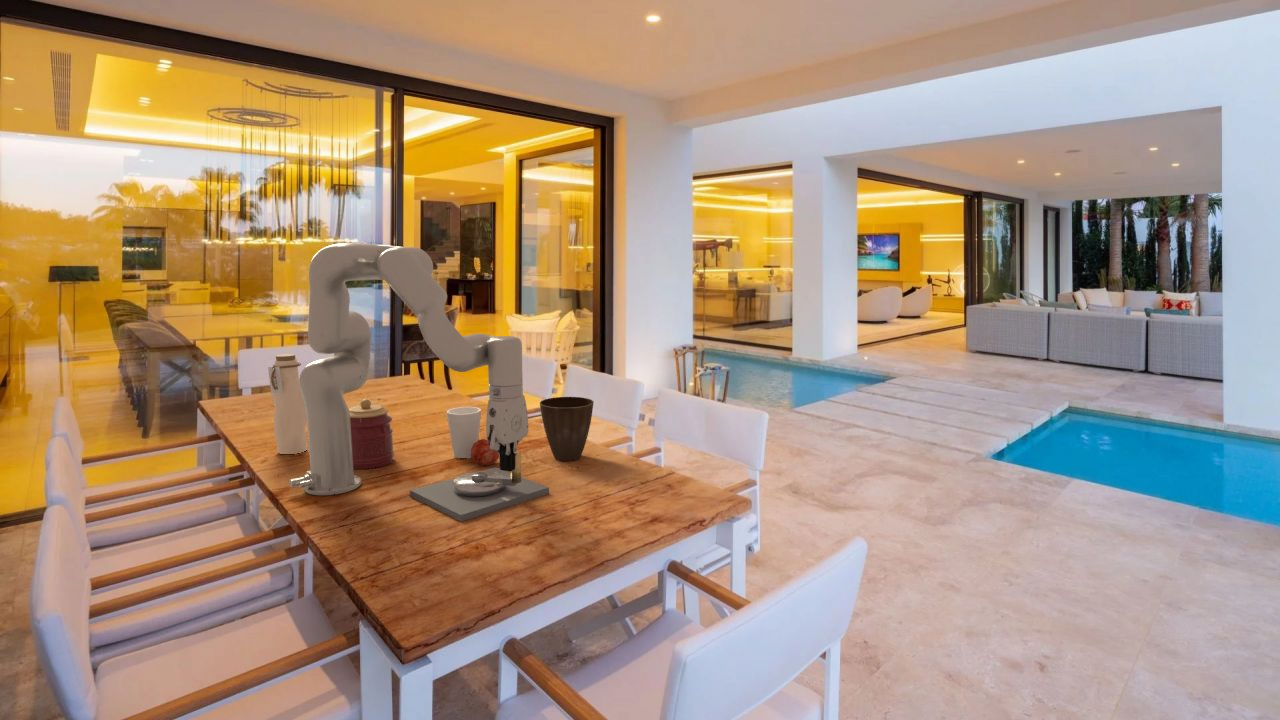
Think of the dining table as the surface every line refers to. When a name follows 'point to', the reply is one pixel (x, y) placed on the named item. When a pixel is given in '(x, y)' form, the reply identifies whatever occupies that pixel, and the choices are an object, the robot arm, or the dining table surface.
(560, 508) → the dining table surface
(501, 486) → the crank handle
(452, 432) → the foam cup
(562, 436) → the plant pot
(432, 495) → the base
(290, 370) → the water bottle
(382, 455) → the canister
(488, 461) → the pomegranate
